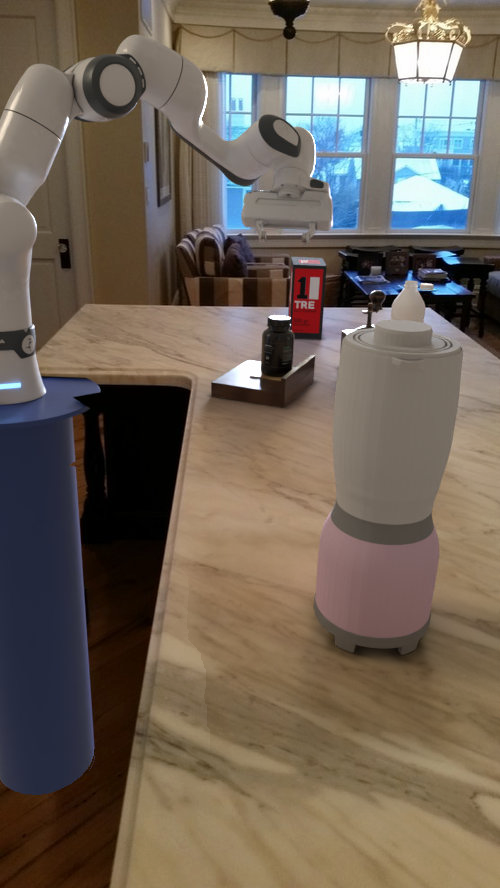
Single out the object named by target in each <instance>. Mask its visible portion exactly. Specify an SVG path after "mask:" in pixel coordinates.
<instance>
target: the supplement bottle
mask: <svg viewBox="0 0 500 888" xmlns="http://www.w3.org/2000/svg"><path fill="white" fill-rule="evenodd" d="M290 322H291V318H290V317H288V315H287V316H286V315H280V314H279V315H278V314H277V315H275V314H274V315H270V316H267V323H266V326H267V328H266V329H265V330H263V331H262V334H261V354H260V355H261V356H260V361H261V372H262V373H263V374H264V375H266V376H271V377H283V376H284V375H286V374H287V373H288V372H290V371H291V370H292V369H293V366H294V352H295V339H294V333H293V332H292V331H291V330H290V329H289V328H290V327H291V324H290Z"/></svg>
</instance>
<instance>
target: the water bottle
mask: <svg viewBox="0 0 500 888" xmlns="http://www.w3.org/2000/svg"><path fill="white" fill-rule="evenodd" d="M418 283H419V282H418V281H417V280H409V279H408V280H405V282H404V284H403V287H404V288H403V289H402V290H401V292H399V294H398V295H397V296H396V298H395V299H394V300H393V302H392V304H391V310H390V319H389V320H408V321H416V322H421V323H424V322H425V320H424V319H425V316H426V304H425V301H424V299H423V297H422V295H421V293H420V291H419V290H421V291H433V290H434V288H435V287H434V283H433V284H432V283H427V282H421V283H420V284H419V285H418ZM418 288H419V290H418Z"/></svg>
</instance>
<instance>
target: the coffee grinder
mask: <svg viewBox="0 0 500 888" xmlns="http://www.w3.org/2000/svg"><path fill="white" fill-rule="evenodd" d="M386 297H387V295H386V293H385V292H383V290H378V289H377V290H373V291H371V292H370V293H369V295H368V298H369V300H370V301H371V302H368V303H367V309H366V310H362V314H363V315H367V319H366V323H365V325H362V326H359V327H356V328H355V329H344V330H343V329H342V330H341V334H340V348H339V349H340V350H339V351H340V352H339V355H340V354H341V346H342V341H343V339H344V337H345V336H346V335H347V334H348V333H350V332H352V331H356V330H361V329H369V328H375V324H372V316H373V313H376V314H377V313H378V312H380V311H383V310H384V308H383V305H382V304H383V303H384V302H385V300H386Z"/></svg>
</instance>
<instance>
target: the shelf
mask: <svg viewBox="0 0 500 888" xmlns="http://www.w3.org/2000/svg"><path fill="white" fill-rule="evenodd" d="M315 364H316V355H315V354H314V355H313V354H311V355H309V356H308V357H307V358H305V359H303V361H301V362H300V363H299V364H298V365H293V369H292V370H291V371H290V372H288V373H287V374H286V375H284V376H283V377H271V376H266V375H264V374H263V373H262V372H261V360H253V359H247V360H245V361H243V362H242V363H239V365H236V366H235V367H234V368H232V369H230V370H229V371H227V372H226V373H224V374H222V375H221V376H219V377H217V378H216V379H214V380H212V381H211V383H210V397H215V398H220V399H227V400H233V401H240V402H245V403H252V404H253V403H254V404H259V405H265V406H271V407H278V408H286V407H287V406H288V405H289V404H290V403H291V402H292V401H293V400H295V399H296V398H297V397H298V396H299V395H301V393H302V392H304V391H305V390H306V389H307V388H308V387H309V386H311V384H313V383H314V382H315V380H314V379H315V367H316V365H315Z"/></svg>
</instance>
